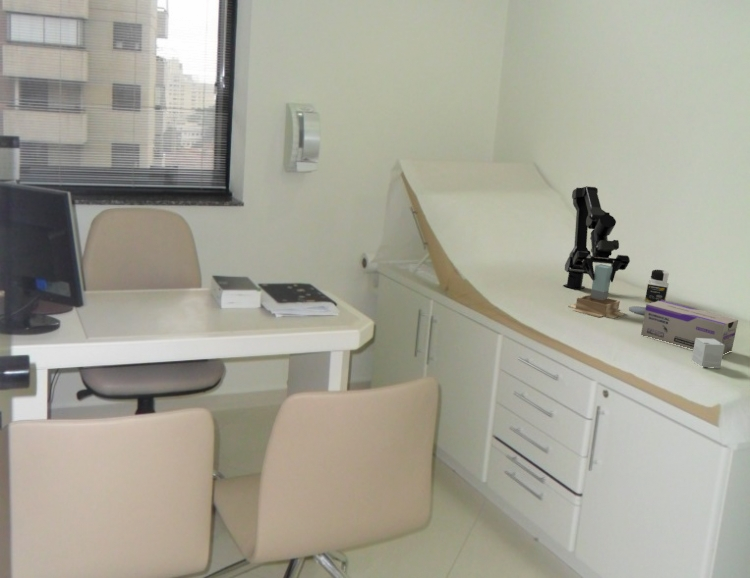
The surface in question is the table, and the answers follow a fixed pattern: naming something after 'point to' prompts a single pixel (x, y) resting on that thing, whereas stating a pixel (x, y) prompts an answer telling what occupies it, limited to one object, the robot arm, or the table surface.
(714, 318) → the surgical sutures box
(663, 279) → the medicine bottle
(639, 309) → the mat
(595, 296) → the slim box
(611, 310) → the carton
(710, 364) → the skincare box
